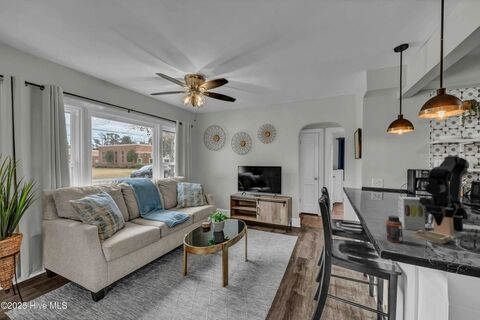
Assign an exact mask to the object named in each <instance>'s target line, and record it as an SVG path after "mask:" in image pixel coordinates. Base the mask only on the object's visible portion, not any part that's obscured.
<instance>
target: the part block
mask: <svg viewBox="0 0 480 320" xmlns="http://www.w3.org/2000/svg"><path fill="white" fill-rule="evenodd" d="M432 219H433V230H434V232H436V233H441V234H445V235H453V234H454V233H455V232H454V231H455V230H454V227H453V218H450V217H444V218H443V221H442V223H441V226H438V225H437V223H436V221H435V219H434V217H433V218H432Z"/></svg>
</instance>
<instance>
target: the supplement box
mask: <svg viewBox="0 0 480 320" xmlns="http://www.w3.org/2000/svg"><path fill="white" fill-rule="evenodd" d="M420 198H421V197H417V196H416V197H415V196H397V209H398V214H397V215H398V217H399V221H400V222H401V223H402V229H404V230H410V231H411V230H412V231H419V230H424V231H426V221H425V220H426V216H425V205H424V206H422V204H421V203H419V200H420Z"/></svg>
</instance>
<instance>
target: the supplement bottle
mask: <svg viewBox="0 0 480 320" xmlns="http://www.w3.org/2000/svg"><path fill="white" fill-rule="evenodd" d="M385 222H386V223H385V225H386V226H385V230H386V239H387V240H388V241H389V242H391V243H396V244H397V243H398V244H400V243H403V242H404V236H403V228H402V223H401V222H400V221H399V215H398V216H397V215H388V216H387V220H386V221H385Z"/></svg>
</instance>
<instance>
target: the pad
mask: <svg viewBox="0 0 480 320" xmlns="http://www.w3.org/2000/svg"><path fill="white" fill-rule="evenodd" d="M428 231H429V232H433V233H436V232H434V229H431V230H428ZM438 234H441V233H438ZM443 235H445V234H443ZM447 236H451V240H454V239H457V238H460V237H463V234H461V233H457V232H454V234H453V235H447Z"/></svg>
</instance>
